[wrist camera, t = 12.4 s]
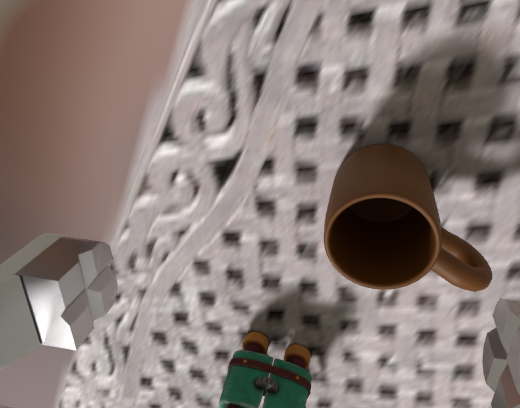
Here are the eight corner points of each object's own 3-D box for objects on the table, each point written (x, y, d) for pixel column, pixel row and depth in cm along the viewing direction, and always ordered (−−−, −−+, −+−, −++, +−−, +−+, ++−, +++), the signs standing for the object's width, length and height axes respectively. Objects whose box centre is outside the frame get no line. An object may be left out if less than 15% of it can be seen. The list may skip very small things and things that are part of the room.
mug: (500, 190, 34) (537, 257, 26) (444, 261, 38) (461, 338, 30) (360, 124, 35) (355, 170, 27) (318, 201, 39) (302, 261, 30)
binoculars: (199, 465, 44) (205, 410, 38) (231, 375, 52) (240, 319, 47) (286, 496, 43) (307, 444, 37) (305, 399, 51) (324, 344, 45)
